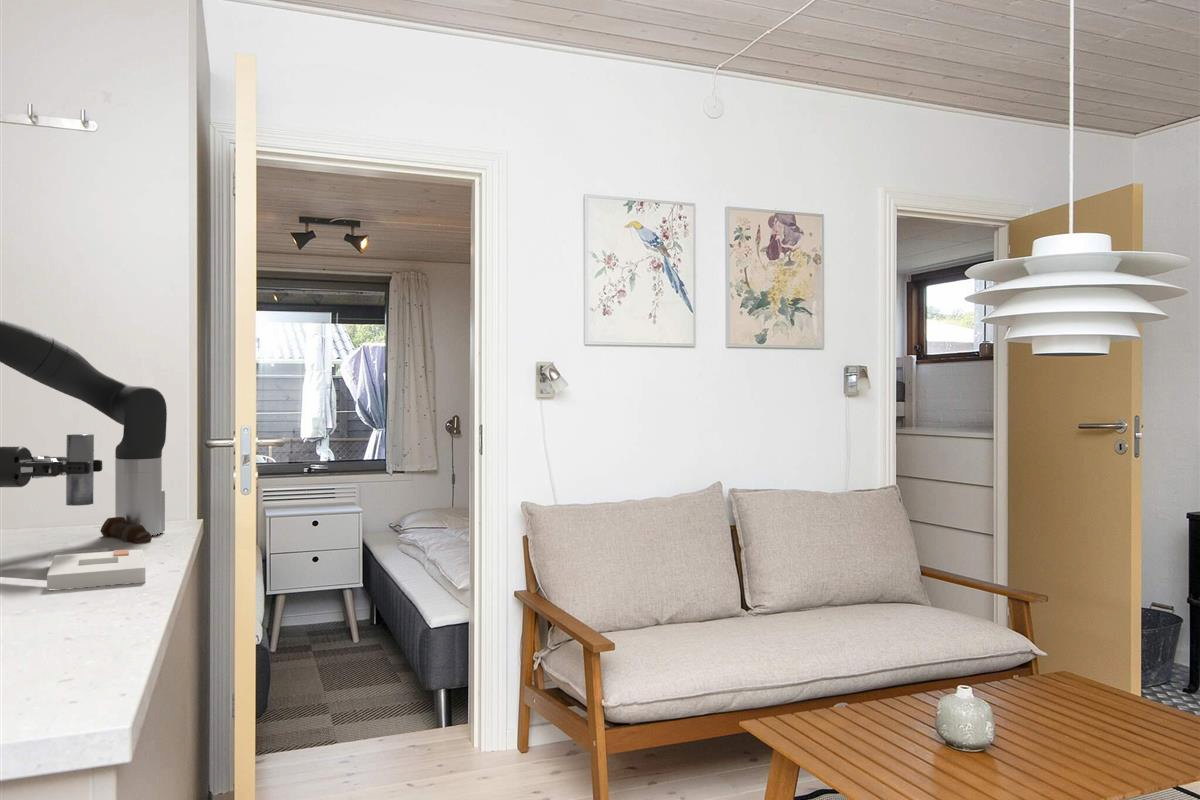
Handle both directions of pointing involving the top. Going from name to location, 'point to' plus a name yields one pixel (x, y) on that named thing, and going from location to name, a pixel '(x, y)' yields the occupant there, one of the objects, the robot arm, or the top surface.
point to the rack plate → (96, 569)
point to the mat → (75, 552)
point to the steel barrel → (80, 484)
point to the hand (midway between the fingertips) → (95, 466)
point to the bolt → (125, 530)
